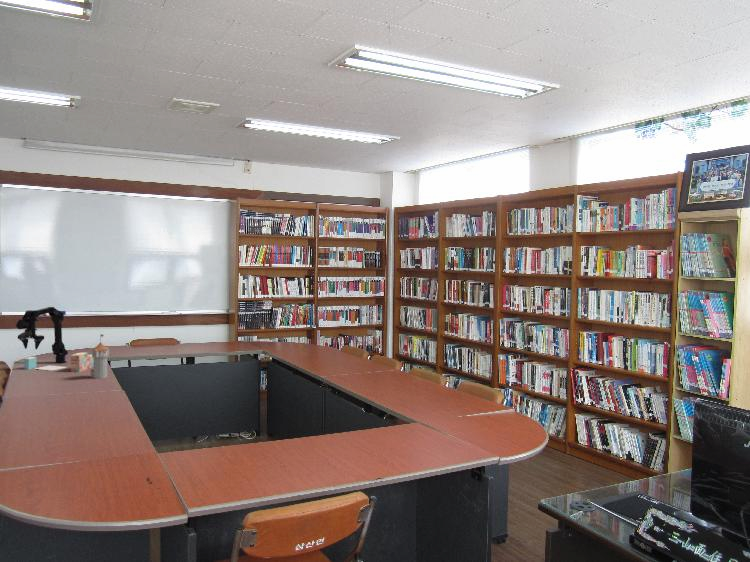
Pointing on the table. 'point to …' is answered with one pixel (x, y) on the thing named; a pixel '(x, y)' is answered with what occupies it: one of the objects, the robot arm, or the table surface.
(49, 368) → the mat
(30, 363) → the turquoise box
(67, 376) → the table surface
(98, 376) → the model building
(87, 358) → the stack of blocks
